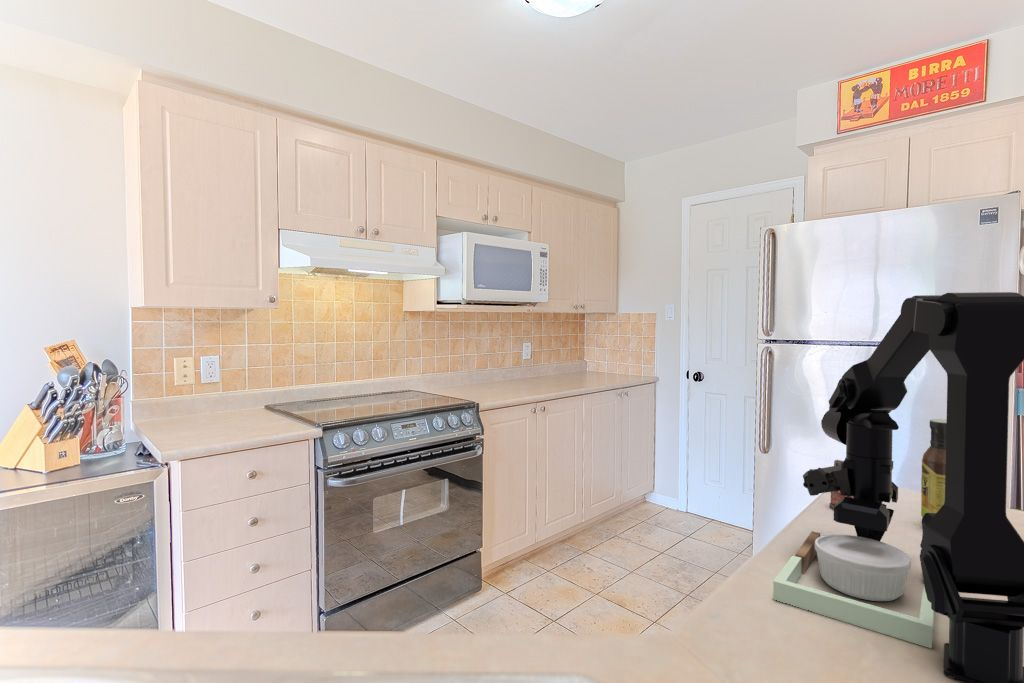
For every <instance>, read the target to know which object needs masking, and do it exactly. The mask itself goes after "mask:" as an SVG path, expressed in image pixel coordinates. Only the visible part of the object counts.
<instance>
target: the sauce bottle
mask: <svg viewBox="0 0 1024 683" xmlns="http://www.w3.org/2000/svg"><path fill="white" fill-rule="evenodd" d="M946 423H947V418H946V419H945V418H944V419H943V418H932V419H930V420H929V428H930V441H929V442H930V445H929V447H928V448H927V449H926V451H925V452H924V453H923V455H922V459H921V478H920V480H921V481H920V482H921V484H920V485H921V486H920V487H921V491H920V492H921V494H920V496H921V498H920V499H921V500H920V502H921V503H920V504H921V505H920V515H921V517H922V518H923V516H924V514H925V513H937V512H938V511H939V509H940V508H941V507H942V506H943V505H944V502H945V469H946ZM922 518H921V519H922Z"/></svg>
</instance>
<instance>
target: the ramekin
mask: <svg viewBox="0 0 1024 683" xmlns="http://www.w3.org/2000/svg"><path fill="white" fill-rule="evenodd" d="M815 550H816V551H817V554H816V556H817V562H818V569H819V573H820V576H821V578H822V579H823V581H825V583H826V584H827V585H828V586H829V587H831V588H832V589H834V590H836V591H838V592H840V593H843V594H845V595H847V596H850V597H853V598H857V599H861V600H866V601H872V602H873V601H874V602H890V601H895V600H897V599H898V598H900V597H901V596H902V595H903V594H904V590H905V586H906V582H907V578H908V572H909V571H910V569H911V567H912V561H911V558H910V556H909V555H908V554H907V553H906V552H904V551H903V550H902V549H899V548H898V547H896V546H893V545H891V544H889V543H885V542H882V541H881V540H880V541H877V540H873V539H869V538H864V537H858V536H857V535H848V534H826V535H820V537H818V538H817V539H816V540H815Z"/></svg>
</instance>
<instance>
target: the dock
mask: <svg viewBox="0 0 1024 683" xmlns="http://www.w3.org/2000/svg"><path fill="white" fill-rule="evenodd" d="M801 560H802V558H801V557H797V556H795V555H792V556H790V558H789V560H788V561H787V562H786V563H785V565H783V568H782V569H781V570H780V572H779V573H778V574H777V575H776V577H775V578H774V580H773V593H772V594H773V597H772V598H773V599H774V600H773V601H776V600H777V601H776V602H779V601H780V602H779V603H782V602H783V604H785V603H787V604H786V605H789V604H790V605H789V606H792V605H793V607H795V606H796V608H798V607H799V608H798V609H803V610H805V611H808V610H809V611H808V612H811V611H812V613H815V614H819V615H821V616H825V617H828V618H831V619H834V620H837V621H841V622H844V623H847V624H850V625H853V626H854V625H855V626H857V627H861V628H863V629H867V630H870V631H872V632H873V631H874V632H876V633H880V634H883V635H887V636H889V637H893V638H895V639H898V640H899V639H900V640H902V641H906V642H909V643H912V644H916V645H919V646H922V647H924V648H925V647H926V648H929V649H932V650H933V638H934V628H935V627H934V625H935V613H936V612H935V611H933V610H932V609H931V602H929V601H928V599H927V594H926V592H925V587H924V588H923V589H922V594H921V595H922V596H921V602H920V610H919V617H915V616H912V615H909V614H905V613H901V612H898V611H894V610H891V609H887V608H884V607H880V606H877V605H874V604H869V603H866V602H862V601H858V600H855V599H852V598H849V597H844V596H842V595H838V594H834V593H830V592H829V591H828V592H827V591H823V590H820V589H816V588H813V587H810V586H806V585H802V584H799V583H797V582H798V581H799V579H800V577H801V576H802V573H801Z"/></svg>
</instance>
